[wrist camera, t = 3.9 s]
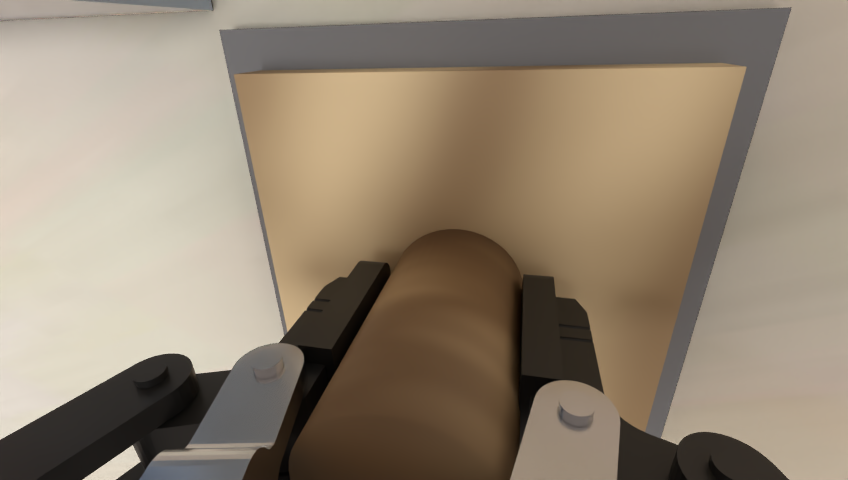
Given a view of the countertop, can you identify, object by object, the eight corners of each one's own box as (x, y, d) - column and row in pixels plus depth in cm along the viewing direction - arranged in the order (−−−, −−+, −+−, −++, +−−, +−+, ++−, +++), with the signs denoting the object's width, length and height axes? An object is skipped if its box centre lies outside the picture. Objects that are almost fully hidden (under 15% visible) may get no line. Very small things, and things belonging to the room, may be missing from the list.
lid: (720, 63, 9) (1158, 131, 3) (628, 427, 14) (713, 758, 8) (261, 70, 11) (-73, 118, 5) (317, 381, 16) (181, 605, 10)
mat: (775, 8, 9) (791, 7, 8) (651, 438, 15) (655, 453, 14) (233, 30, 12) (219, 30, 11) (304, 385, 17) (297, 396, 17)
